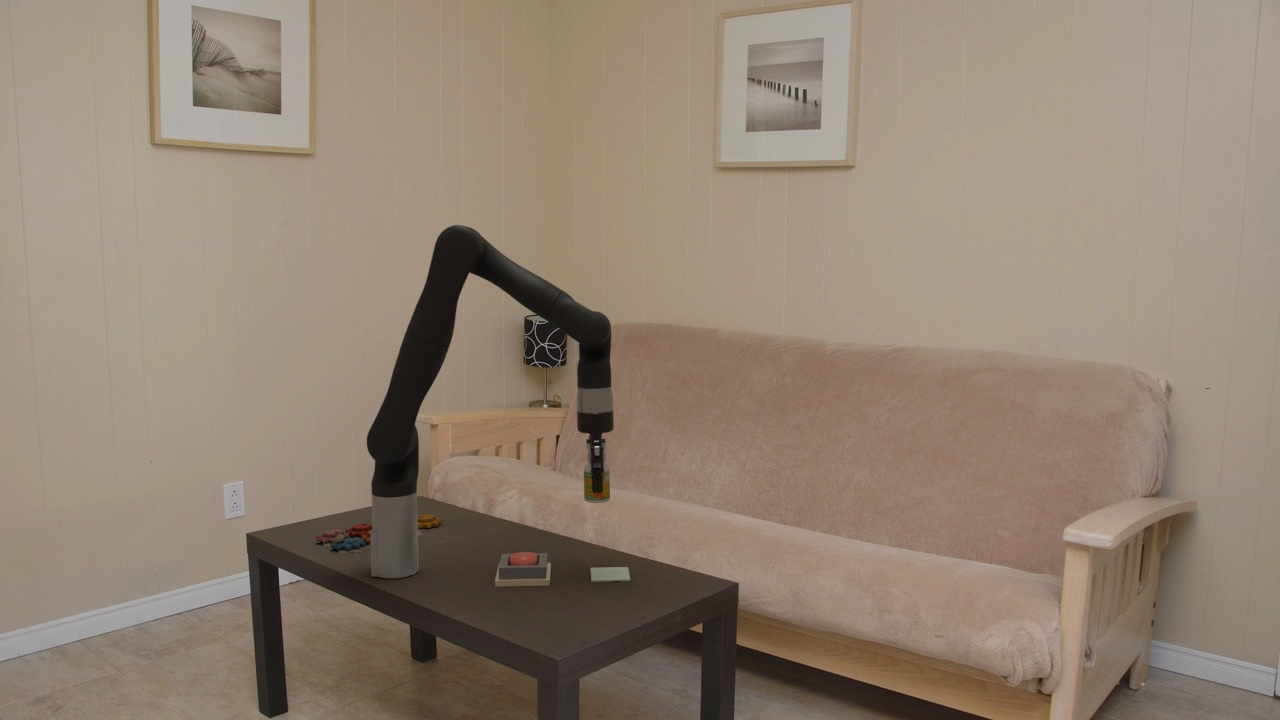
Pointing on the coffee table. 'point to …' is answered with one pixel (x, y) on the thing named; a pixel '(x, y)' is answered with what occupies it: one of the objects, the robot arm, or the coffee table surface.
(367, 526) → the gear puzzle
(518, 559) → the dome button
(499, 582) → the dome console
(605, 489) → the supplement bottle
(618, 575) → the mat
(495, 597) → the coffee table surface
